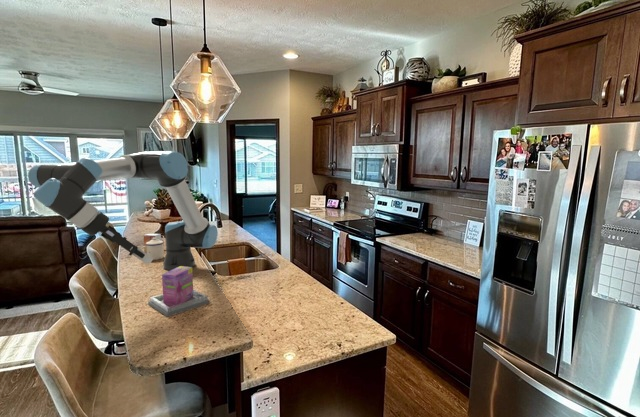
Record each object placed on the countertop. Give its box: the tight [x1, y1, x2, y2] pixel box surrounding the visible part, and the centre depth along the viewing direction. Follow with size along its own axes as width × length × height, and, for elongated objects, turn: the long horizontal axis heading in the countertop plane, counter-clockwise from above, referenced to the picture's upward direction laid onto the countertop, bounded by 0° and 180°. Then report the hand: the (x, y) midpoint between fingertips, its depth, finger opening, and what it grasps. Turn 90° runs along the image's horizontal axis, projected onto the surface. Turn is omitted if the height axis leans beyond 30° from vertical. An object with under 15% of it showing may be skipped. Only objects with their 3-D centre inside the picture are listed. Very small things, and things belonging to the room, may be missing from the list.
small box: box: [143, 233, 162, 253], centre depth 209 cm, size 8×6×10 cm
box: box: [161, 266, 194, 306], centre depth 127 cm, size 10×6×12 cm, turn 166°
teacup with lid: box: [140, 238, 165, 261], centre depth 192 cm, size 12×9×12 cm
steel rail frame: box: [149, 289, 209, 313], centre depth 128 cm, size 15×15×2 cm
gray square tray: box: [147, 295, 211, 318], centre depth 128 cm, size 16×16×1 cm
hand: (144, 257), depth 119 cm, fingers open, 13 cm apart
